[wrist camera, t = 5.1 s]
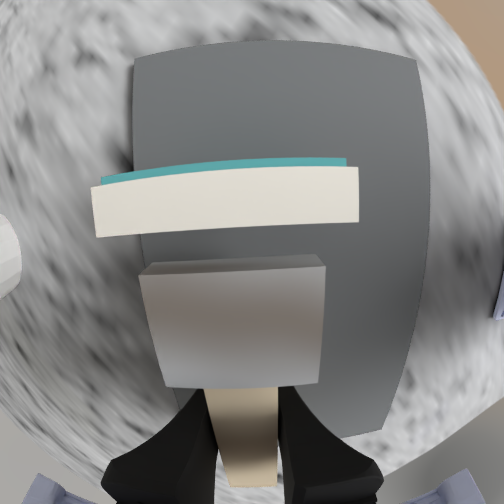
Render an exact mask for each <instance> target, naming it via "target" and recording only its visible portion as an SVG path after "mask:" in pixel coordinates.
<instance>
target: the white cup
mask: <svg viewBox="0 0 504 504" xmlns="http://www.w3.org/2000/svg"><path fill="white" fill-rule="evenodd" d="M21 273H22V257H21V251H20V247H19V242H18V238H17V236H16V233H15V231H14V229H13V227H12V225H11V223H10V222H9V221H8V220H7V218H6V217H5V216H4V215H3V214H0V300H1V299H2V298H3V297H5V296H6V295H7V294H8V293H10V292H11V291H12V290H13V289H15V287H16V286H17V285H18V283H19V282H20V278H21Z"/></svg>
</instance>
